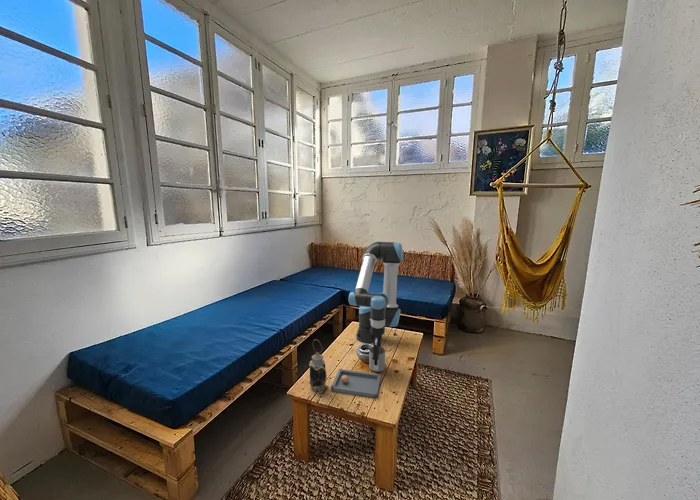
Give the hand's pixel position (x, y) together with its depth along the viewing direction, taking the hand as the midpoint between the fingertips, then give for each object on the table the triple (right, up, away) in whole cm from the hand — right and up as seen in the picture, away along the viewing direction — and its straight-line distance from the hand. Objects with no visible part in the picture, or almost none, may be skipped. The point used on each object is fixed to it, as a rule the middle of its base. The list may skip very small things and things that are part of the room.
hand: (377, 364), depth 154 cm
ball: (-17, -4, -12) cm, 21 cm away
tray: (-11, -5, -13) cm, 18 cm away
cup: (0, -2, 0) cm, 2 cm away
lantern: (-30, -5, -15) cm, 34 cm away
